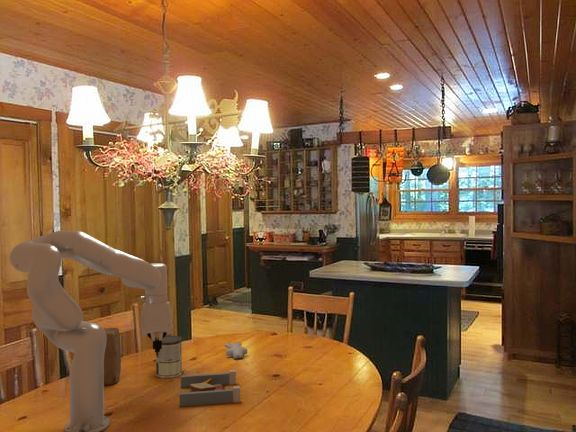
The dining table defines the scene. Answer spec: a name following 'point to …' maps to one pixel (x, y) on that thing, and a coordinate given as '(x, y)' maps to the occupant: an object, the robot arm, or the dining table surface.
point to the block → (112, 356)
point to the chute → (210, 396)
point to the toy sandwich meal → (205, 386)
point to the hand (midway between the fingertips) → (157, 351)
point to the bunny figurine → (235, 350)
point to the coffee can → (169, 357)
